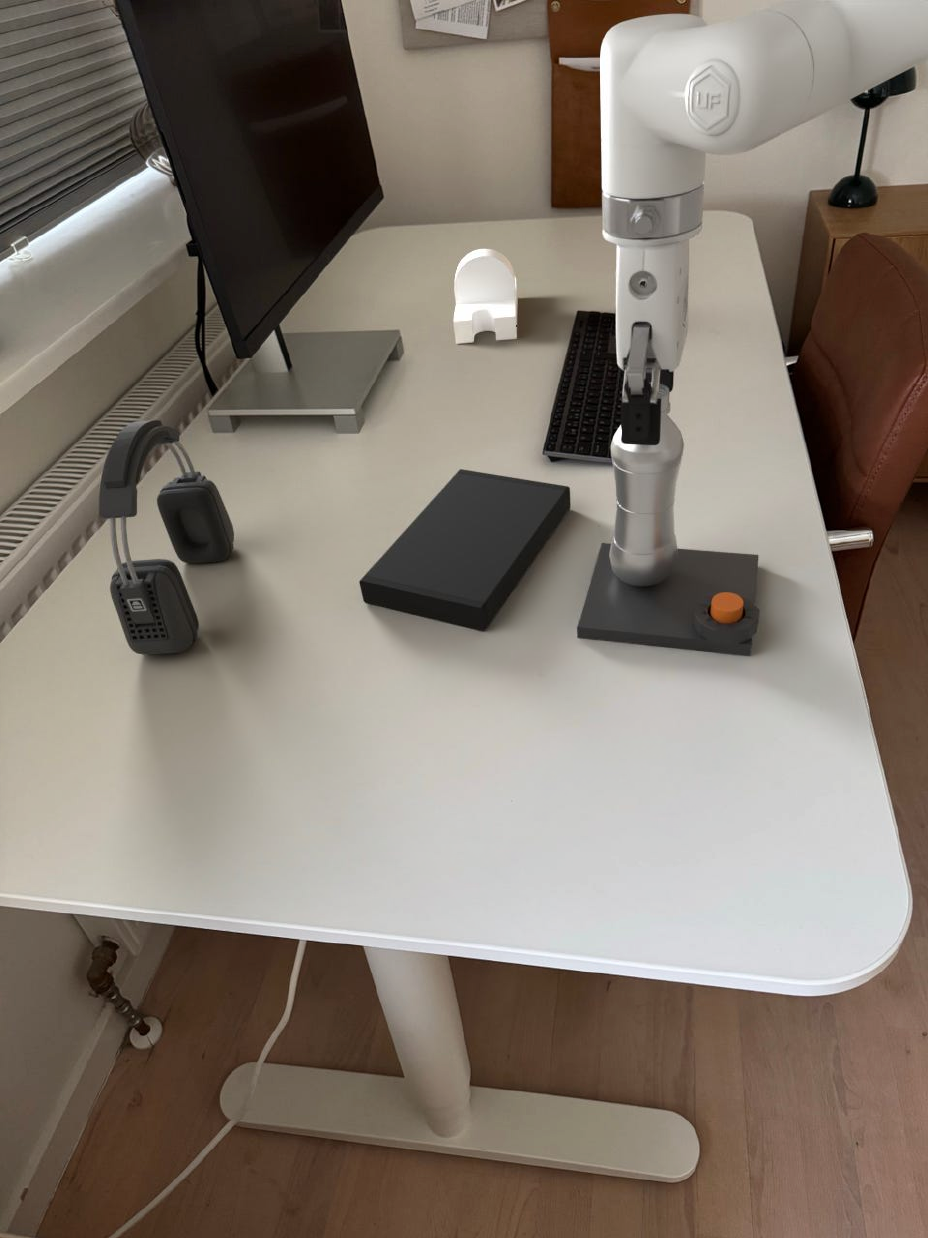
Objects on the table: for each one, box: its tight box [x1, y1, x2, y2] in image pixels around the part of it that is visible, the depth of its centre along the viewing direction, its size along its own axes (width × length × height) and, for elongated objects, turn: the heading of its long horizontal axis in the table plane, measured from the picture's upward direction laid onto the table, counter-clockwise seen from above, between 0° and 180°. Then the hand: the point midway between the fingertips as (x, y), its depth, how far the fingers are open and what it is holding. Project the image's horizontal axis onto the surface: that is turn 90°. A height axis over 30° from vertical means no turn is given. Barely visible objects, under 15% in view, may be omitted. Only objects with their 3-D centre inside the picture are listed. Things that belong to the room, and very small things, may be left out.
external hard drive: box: [358, 468, 571, 632], centre depth 97 cm, size 14×23×3 cm, turn 154°
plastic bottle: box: [609, 382, 685, 586], centre depth 84 cm, size 6×7×20 cm
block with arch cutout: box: [452, 248, 518, 345], centre depth 146 cm, size 18×10×11 cm, turn 177°
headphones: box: [98, 419, 235, 656], centre depth 92 cm, size 22×6×20 cm, turn 178°
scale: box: [576, 542, 760, 657], centre depth 88 cm, size 16×14×3 cm
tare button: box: [711, 592, 744, 624], centre depth 82 cm, size 3×3×2 cm
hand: (648, 415), depth 79 cm, fingers open, 9 cm apart
